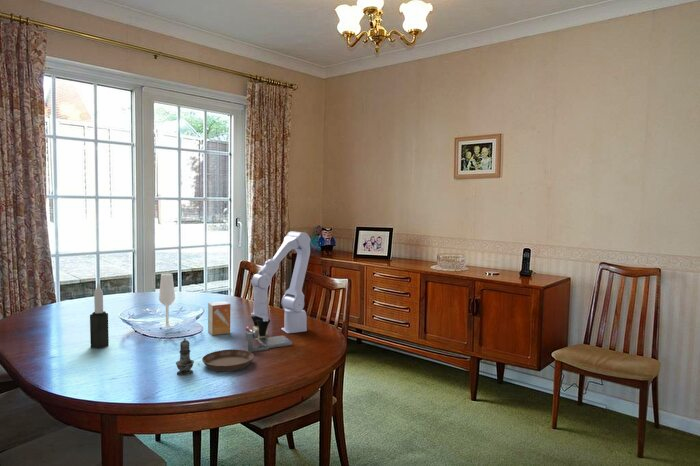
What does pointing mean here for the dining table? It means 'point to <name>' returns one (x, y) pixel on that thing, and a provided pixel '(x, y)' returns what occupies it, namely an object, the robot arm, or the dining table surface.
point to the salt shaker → (184, 359)
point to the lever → (255, 333)
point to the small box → (219, 317)
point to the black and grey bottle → (99, 322)
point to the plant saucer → (227, 360)
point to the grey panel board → (266, 342)
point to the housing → (255, 328)
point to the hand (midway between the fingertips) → (260, 334)
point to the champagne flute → (167, 294)
